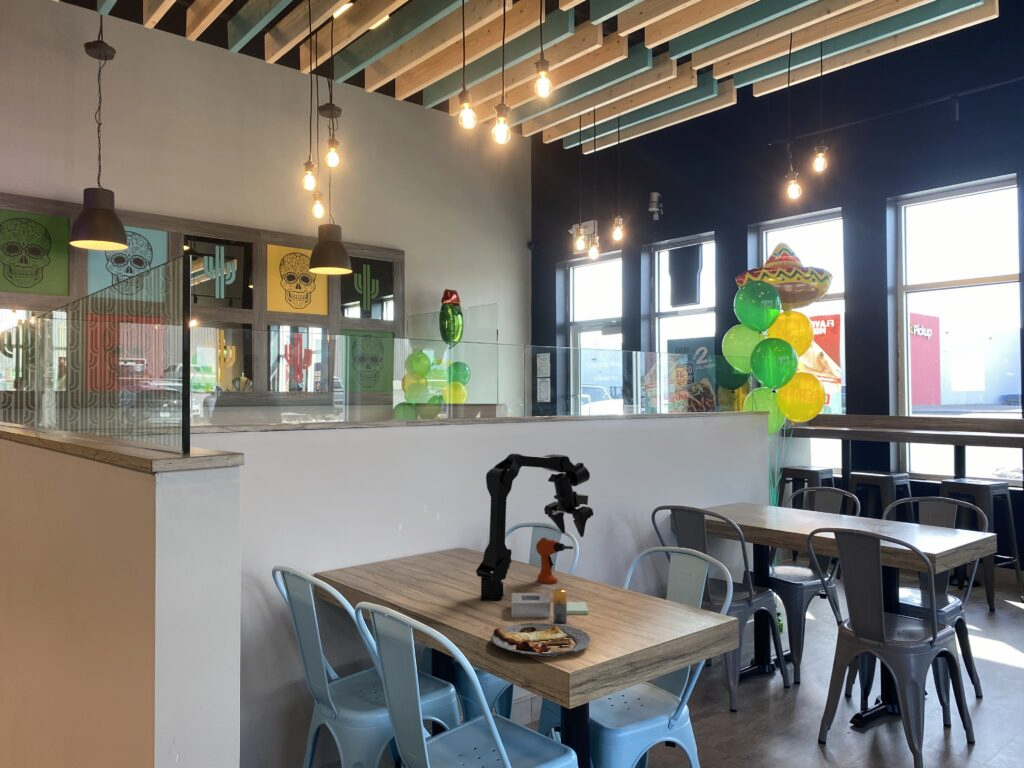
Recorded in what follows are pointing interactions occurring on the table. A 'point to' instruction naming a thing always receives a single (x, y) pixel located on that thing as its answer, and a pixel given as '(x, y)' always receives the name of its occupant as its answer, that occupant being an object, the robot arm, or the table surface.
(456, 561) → the table surface
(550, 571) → the toy drill
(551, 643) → the food plate
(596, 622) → the table surface
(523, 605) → the block
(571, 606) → the green mat
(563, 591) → the gold and grey cylinder
